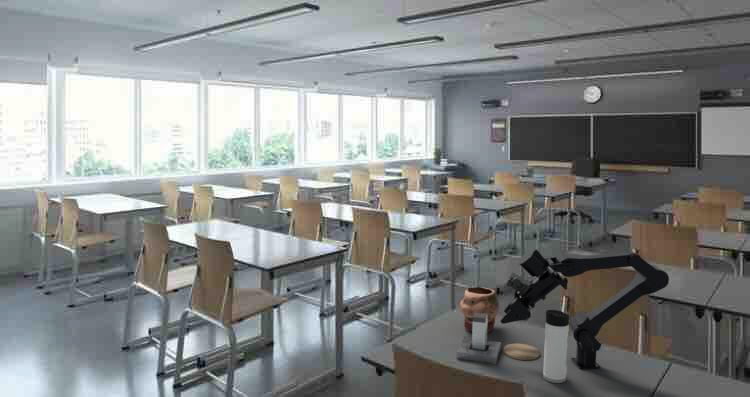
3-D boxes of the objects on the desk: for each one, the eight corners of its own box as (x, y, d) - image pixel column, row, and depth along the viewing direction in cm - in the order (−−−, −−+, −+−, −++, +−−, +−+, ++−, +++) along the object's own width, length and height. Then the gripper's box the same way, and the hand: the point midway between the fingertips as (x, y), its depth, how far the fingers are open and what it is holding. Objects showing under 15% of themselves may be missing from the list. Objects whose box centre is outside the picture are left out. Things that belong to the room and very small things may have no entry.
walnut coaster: (544, 359, 166) (545, 357, 166) (509, 360, 166) (509, 358, 165) (532, 344, 177) (532, 342, 177) (499, 345, 176) (499, 343, 176)
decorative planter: (477, 315, 204) (478, 279, 202) (508, 322, 196) (509, 285, 194) (451, 332, 188) (452, 293, 186) (483, 340, 181) (484, 300, 178)
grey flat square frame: (500, 348, 174) (501, 342, 174) (495, 364, 163) (496, 357, 163) (463, 343, 179) (464, 337, 178) (456, 358, 167) (456, 352, 167)
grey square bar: (486, 351, 172) (487, 314, 170) (484, 356, 168) (485, 318, 167) (473, 349, 174) (474, 312, 172) (471, 354, 170) (472, 316, 168)
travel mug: (537, 375, 156) (540, 309, 153) (556, 371, 158) (559, 306, 155) (551, 385, 150) (554, 316, 147) (570, 381, 153) (574, 313, 150)
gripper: (525, 258, 171) (489, 288, 176) (520, 274, 154) (480, 307, 159) (550, 285, 169) (513, 314, 175) (548, 304, 152) (506, 336, 158)
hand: (503, 317), depth 167 cm, fingers open, 9 cm apart
